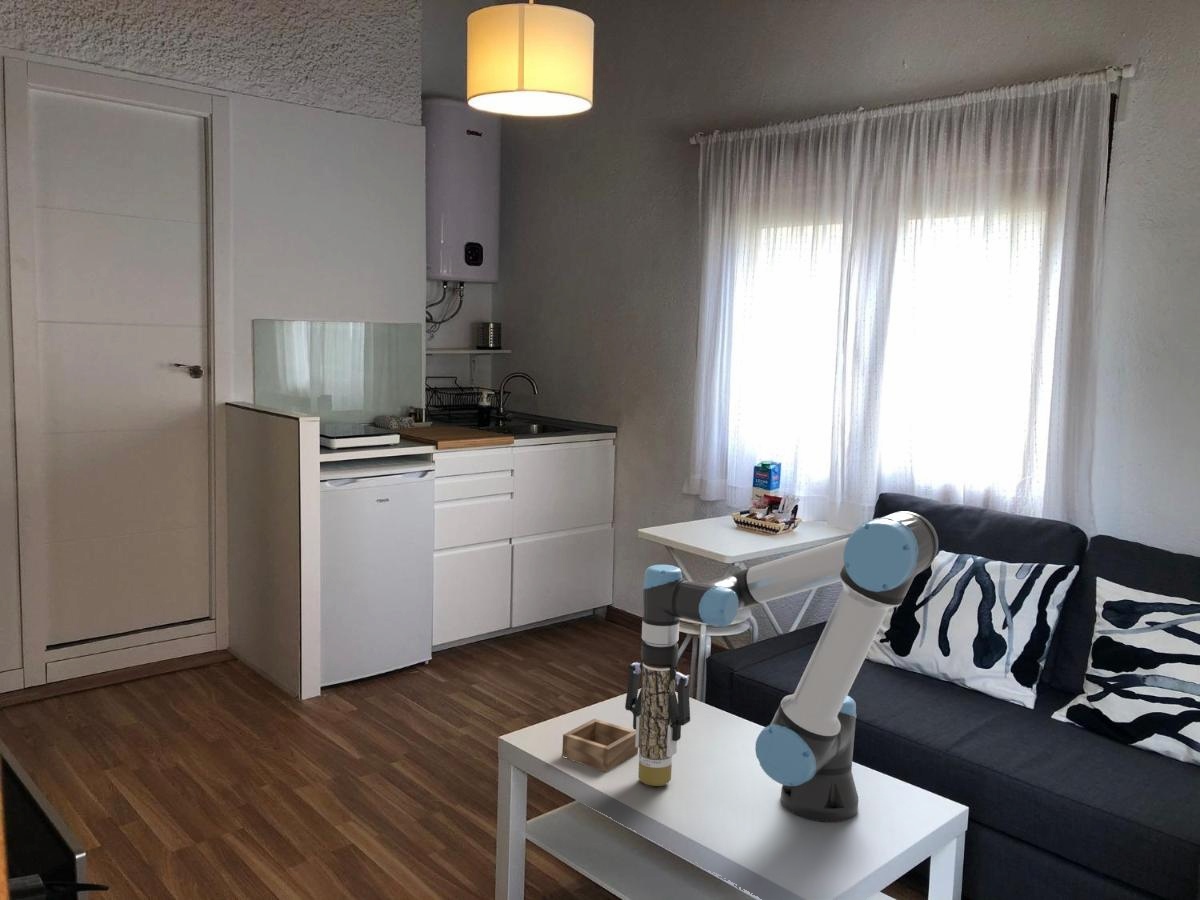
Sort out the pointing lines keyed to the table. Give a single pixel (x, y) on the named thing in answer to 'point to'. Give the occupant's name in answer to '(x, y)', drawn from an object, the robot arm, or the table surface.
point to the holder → (600, 744)
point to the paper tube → (655, 725)
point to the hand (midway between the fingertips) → (655, 749)
